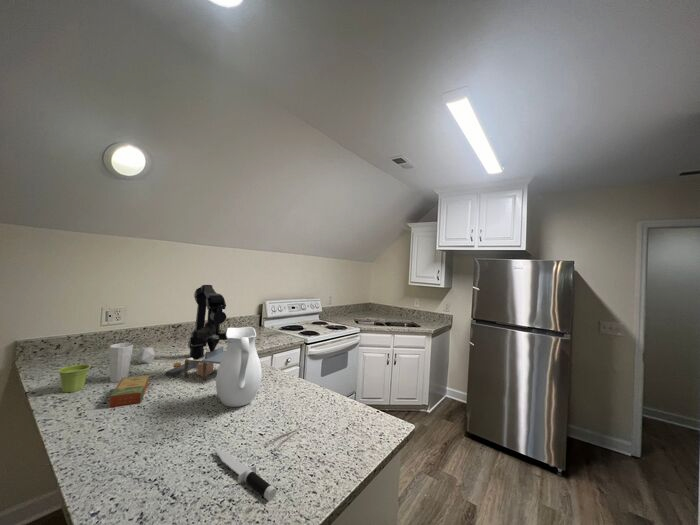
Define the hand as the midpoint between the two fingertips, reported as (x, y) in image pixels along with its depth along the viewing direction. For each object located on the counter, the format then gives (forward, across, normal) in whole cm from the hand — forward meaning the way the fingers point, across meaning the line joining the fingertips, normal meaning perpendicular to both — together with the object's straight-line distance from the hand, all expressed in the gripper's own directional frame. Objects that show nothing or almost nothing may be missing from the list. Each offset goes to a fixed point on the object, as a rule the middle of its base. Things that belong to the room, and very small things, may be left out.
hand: (211, 352), depth 136 cm
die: (+11, -43, +4) cm, 44 cm away
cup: (+11, -32, -18) cm, 39 cm away
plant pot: (+11, -40, -31) cm, 51 cm away
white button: (+7, -16, +4) cm, 18 cm away
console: (+11, -16, 0) cm, 19 cm away
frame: (+11, -3, 0) cm, 11 cm away
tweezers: (+12, +58, -37) cm, 70 cm away
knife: (+12, +52, -56) cm, 77 cm away
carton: (+11, -14, -29) cm, 34 cm away
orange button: (+7, -16, -4) cm, 18 cm away
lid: (+2, +6, 0) cm, 7 cm away
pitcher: (+11, +30, -24) cm, 40 cm away
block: (+11, -3, 0) cm, 11 cm away
